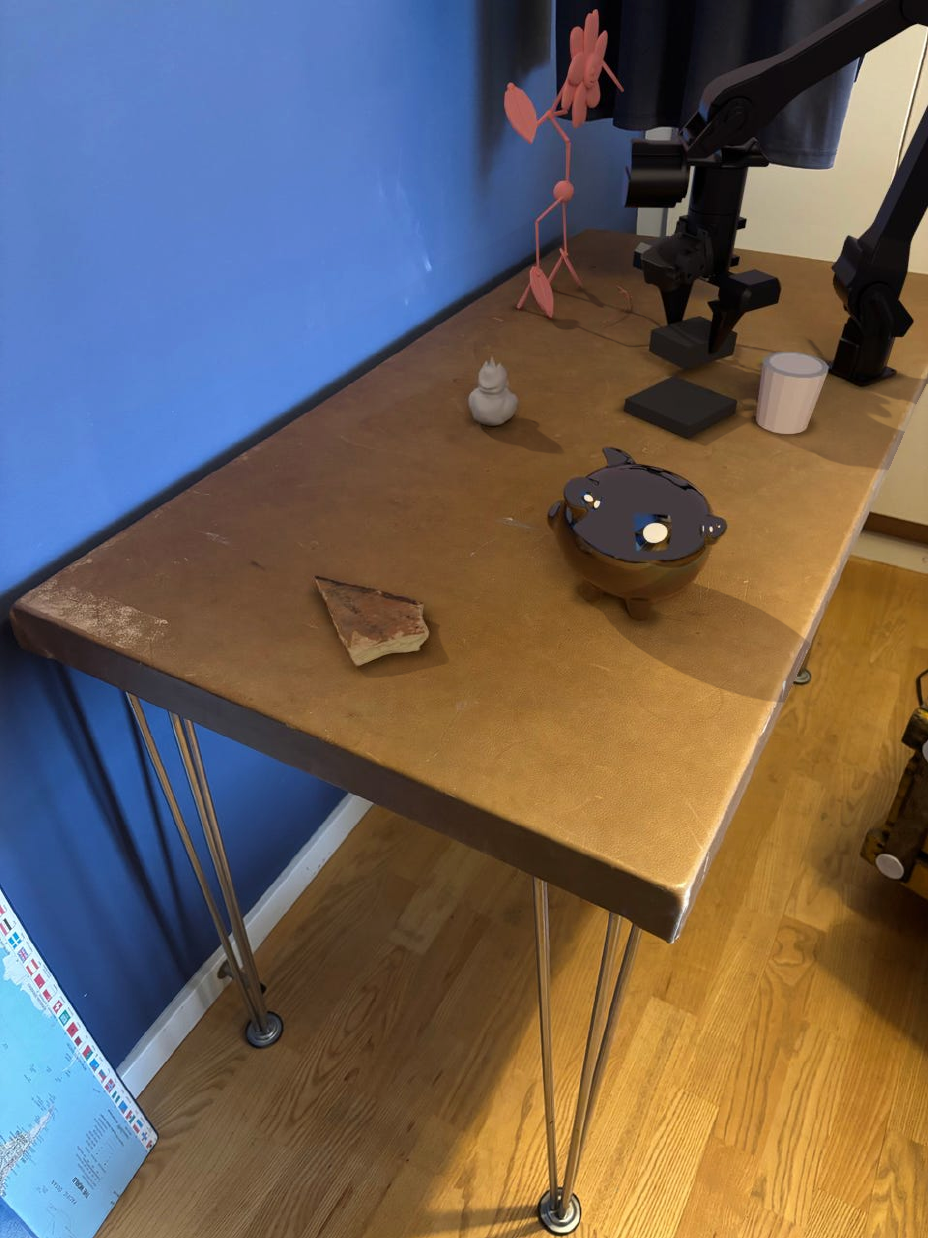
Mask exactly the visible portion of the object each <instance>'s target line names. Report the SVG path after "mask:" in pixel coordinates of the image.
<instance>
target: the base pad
mask: <svg viewBox="0 0 928 1238" xmlns="http://www.w3.org/2000/svg"><path fill="white" fill-rule="evenodd" d="M738 402H739V401H738V400H737V399H735V398H732V397H729V396H727V395H724V394H723V393H720V392H717V391H716V390H715V391H714V390H712V389H709V388H707V387H704V386H702V385H699V384H697V383H695V382H691V381H689V380H687V379H683V378H682V377H680V376H676V375H672V376H670V377H668V378H666V379H664V380H661V381H660V382H657V383H655V384H652V385H650V386H649V387H646V388H645V389H642V390H640V391H638V392H636V393H634V394H632V395H630V396H628V397H626V398H625V399H624V406H623V407H624V408H623V412H625V413H627V414H629V415H632V416H634V417H637V418H639V419H640V420H643V421H645V422H648V423H651V424H653V425H655V426H656V427H659V428H661V429H663V430H666V431H669V432H670V433H673V434H675V435H677V436H680V437H682V438H685V439H687V440H688V439H690V438H692V437H694V436H696V435H697V434H699V433H702V432H703V431H705V430H707V429H708V428H711V427H712V426H714V425H716V424H718V423H720V422H721V421H724V420H725V419H727V418H729V417H731V416H732V415H735V414H736V412H737V411H736V410H737V407H738Z"/></svg>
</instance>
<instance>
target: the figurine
mask: <svg viewBox="0 0 928 1238" xmlns="http://www.w3.org/2000/svg"><path fill="white" fill-rule="evenodd" d="M599 18H600V17H599V11H598V9H594V10H593V11H592V13H588V14H587V16H586V18H585V22H584V30H583V28H581V27H580V26H576V27H573V28H572V30H571V32H570V37H569V48H570V59H571V61H570V65H569V67H568V71H567V77H566V79H565V82H564V83H563V85H562V87H561V89H560V91H559V93H558V95H557V96H556V98H555V100H554V102H553V104H552V106H551V108H550V109H549V110H546V112H545V114H544V115H542V117H541V118H539V119H537V111H536V109H535V107H534V105H533V102H532V101H531V99H530V97H528V95H527V94H526V92H525V91H524V90H523V89H521V88H519V87H518V86H515V84H514V83H513V82H509V83H508V84H507V86H506V87H507V90H506V91H505V92H504V101H503V102H504V103H503V105H504V106H503V107H504V111H505V114H506V118H507V119H508V121H509V123H510V125H511V127H512V128H513V130H514V131H515V132H516V133H517V134H518V135H519V136H520V137H521V138H522V139H523V140H524V141H526V142H527V143H528V144H529V145H532V144H533V142H534V139H535V137H536V132H537V129H538V128H539V127H540V126H541V124H543V123H544V122H545V121H546V120H548V121H551V123H552V124H553V126H554V128H555V129H556V130H557V132H558V133H559V135H560V136H561V138H562V140H563V141H564V142H565V180H560V181H558V182H557V183H556V185H554V188H553V197H554V199H555V200H556V201H555V202H554V203H552V205H551V206H550V207H548V209H546V210H545V211H544V212H543V213H542V214H541V215H540V216H539V217H538V218H537V219H536V220H535V222H534V223H535V224H534V225H535V252H536V253H535V255H536V258H535V259H536V265H535V266H532V267H531V269H530V270H529V281H530V282H529V283H528V286H527V287H526V289H525V291H524V293H523V294H522V295H521V298H520V300H519V301H518V303H517V306H516V308H517V309H521V308H522V306H523V304H524V303H525V301H526V299H527V297H528V295H529V293H530V291H532V294H533V296H534V298H535V300H536V302H537V304H538V305H539V307H540V308H541V309H542V310H543V312H545V314H546V315H547V316H548V317H549V318H550V319H551V318H552V317H553V314H554V303H555V302H554V301H555V300H554V295H553V289H552V286H551V283H552V281H553V279H554V277H555V275H556V273H557V272H558V270H559V268H560V266H561V265H562V263H563V262H565V264H566V266H567V267H568V269H569V272H570V273H571V275H572V277H573V279H574V280H575V282H576V283H577V285H578V286H579V288H580V289H583V285H582V283H581V281H580V279H579V277H578V275H577V273H576V271H575V269H574V267H573V265H572V263H571V261H570V259H569V258H568V256H569V253H568V251H567V248H568V247H567V221H566V220H567V219H566V218H567V217H566V203H568V202H570V201H571V200H572V198H573V196H574V193H575V189H574V186H573V184H572V183H571V182H570V181H569V180H570V166H571V165H570V164H571V149H572V148H571V147H572V143H571V140H570V138H569V137H568V135H567V134H566V133H565V131H564V130H563V129H562V127H561V126H560V124H559V123H558V122H557V121H556V119H555V118H556V117H561V116H564V115H567V114H568V113H569V110H570V108H571V115H572V116H571V117H572V126H573V129H574V130H576V129H578V128H579V126H583V125H584V123H585V121H586V117H587V109H589V108H590V109H593V108H596V107H597V106H598V104H599V103H600V100H601V89H600V84H599V81H598V80H599V78H600V75H601V72H602V70H603V69H604V71H606V73H607V75H609V77H610V79H611V80H612V81H613V82H614V84H615V85H616V86H617V88H618V89H619V90H620V92H622V93H623V92H624V91H625V90H624V88H623V86H622V85H621V84H620V82H619V80H618V79H617V78H616V76H615V74H614V73H613V72H612V70H611V69H610V67H609V65H607V63H606V61H605V60H604V58H605V55H606V50H607V45H608V38H609V37H608V32H607V30H603V32H602V33H600V35H599V27H600V21H599V20H600V19H599ZM602 68H603V69H602ZM560 101H561V110H557V111H555V110H556V108H557V106H558V104H559V103H560ZM571 106H572V107H571ZM554 117H555V118H554ZM559 203H562V223H563V224H562V227H563V248H562V247H560V248H559V252H560V254H561V255H560V257H559V259H558V261H557V262H556V264H555V266H554V268H553V270H552V271H551V274H550V275H549V277H548V278H547V276H546V274H545V272H544V271H543V270H542V269H541V268H540V246H539V245H540V243H539V237H540V236H539V234H540V233H539V222H540V221H541V220H542V219H544V217H546V216H547V215H548V213H550V212H551V211H552V210H553V209H554V208H555V207H556V206H557V205H558V204H559ZM563 249H564V250H563ZM616 287H617V288H619V289H620V290H622V291H623V293H624V294H626V296H627V298H628V299H630V297H629V295H628V293H627V292H626V290H625V289H623V288H622V287H620V286H619V285H618V284H617V285H616ZM630 296H631V298H633V296H632V295H630ZM628 308H629V306H627V307H626V308H625V309H624V310H623V311H622V312H621V313H619V314H618V315H616V316H614V317H612V318H610V319H606V320H604V321H601V324H604V323H606V322H609V321H612V320H614V319H616V318H618V317H620V316H621V315H622V314H624V313H625V312H626V311H627V309H628ZM630 310H631V308H629V309H628V311H627V313H628V312H629V311H630ZM493 319H494V320H496V321H500V322H501V323H503V322H504V319H503V320H502V319H500V318H496V317H493Z"/></svg>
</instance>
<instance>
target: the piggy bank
mask: <svg viewBox="0 0 928 1238" xmlns="http://www.w3.org/2000/svg"><path fill="white" fill-rule="evenodd" d="M601 451H602V453H603V455H604V456H605V458H606V465H605V466H604V467H601V468H599V469H596V470H594V471H592V472H590V473H589V474H587V475H586V476H577V477H574V478H571V479H569V480H568V481H567V482H566V483H565V485H564V487H563V498H564V499H562V500H557V501H556V502H554V503H553V504H552V505H551V506H550V508H549V510H548V511H547V515H546V523H547V526H548V527H549V529H550V530H551V531H552V533H553V535H554V537H555V541H556V545H557V547H558V549H559V552H560V554H561V556H562V557H563V559H564V561H565V563H566V564H567V565H568V566H569V568H570V569H571V570H572V571H573V572H574V573H575V574H576V575H577V576H579V577H580V579H581V583H580V592H579V593H580V595H581V596H582V598H583V599H585V600H588V601H597V600H599V599H600V598H601V597H602V596H603V595H604V594H605V593H608V594H610V595H612V596H615V597H618V598H622V599H624V601H625V604H626V608H627V612H628V615H629V616H631V618H632V619H634V620H638V621H643V620H646V619H648V618H649V617H650V616H651V614H652V611H653V607H654V605H655V603H656V602H658V601H661V600H665V599H668V598H670V597H673V596H676V595H677V594H679V593H680V592H682V591H684V590H685V589H686V588H688V587H689V586H690V585H691V584H692V583H693V582H694V581H696V579H697V578H698V576H699V575H700V573H701V572H702V571H703V569H704V568H705V566H706V564H707V562H708V560H709V558H710V556H711V554H712V550H713V547H714V546H716V545H717V544H718V543H719V541H720V540H721V539H722V537H724V536H725V535H726V532H727V530H728V522H727V520H726V519H725V518H724V517H722V516H719V515H715V514H714V511H713V508H712V506H711V504H710V502H709V500H708V498H707V497H706V495H705V493H703V491H702V490H701V489H700V488H699V487H697V486H696V484H694V483H693V482H691V480H688V479H687V478H685V477H684V476H682V475H680V474H678V473H676V472H673V471H670V470H668V469H666V468H661V467H659V466H654V465H650V464H649V465H648V464H643V463H637V462H636V461H635V460H634V458H633V457H632V456H631V455H630V453H628V452H627V451H625V450H622V449H620V448H617V447H614V446H604V447H603V448H602V449H601Z"/></svg>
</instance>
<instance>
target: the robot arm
mask: <svg viewBox="0 0 928 1238" xmlns="http://www.w3.org/2000/svg"><path fill="white" fill-rule="evenodd" d="M915 25H916V26H917V25H920V26H923V27H927V28H928V0H864V1H862V2H860V3H859V4H857V5H856V6H855V7H853V8H851V9H850V10H848V11H846V12H844V13H843V14H842V15H840V16H839V17H836V18H835V19H834V20H831V21H830V22H828V23H827V24H826V25H824V26H822V27H820V28H819V29H817V30H815V31H814V32H813V33H811V34H810V35H808V36H807V37H805V38H803V39H801V40H799V42H797V43H795V44H793V45H792V46H790V47H789V48H787V49H786V50H784V51H782V52H781V53H779V54H776V55H773V56H771V57H769V58H765V59H761V60H758V61H755V62H751V63H748V64H746V65H743V66H741V67H739V68H736V69H734V70H731V71H729V72H727V73H724V74H722V75H719V76H717V77H715V78H714V79H713V80H712V81H710V82H709V83H708V84H707V86H706V87H704V89H703V92H702V95H701V98H700V101H699V107H698V109H697V110H696V111H695V113H694V114H693V115H692V117H690V119H689V120H688V121H687V122H686V124H685V125H684V126H683V127H682V129H681V130H679V132H678V134H676V137H675V140H674V139H672V140H671V139H665V140H664V139H660V140H659V139H655V140H654V139H648V138H644V137H632V138H631V139H630V142H629V150H628V154H627V157H626V162H625V165H624V166H623V170H622V171H623V172H622V182H621V183H622V184H621V189H622V190H621V204H622V208H624V209H632V208H633V209H638V208H639V209H641V208H642V209H675V208H676V206H677V204H682V202H683V199H686V197H687V195H688V192H689V188H690V193H689V200H688V207H687V214H683V215H680V216H678V220H677V221H676V224H675V229H674V232H673V233H672V234H671V235H665V236H660V237H657V238H652V239H647V240H643V241H640V242H639V244H638V245H637V246H636V248H635V249H634V250H633V260H632V267H633V268H635V269H638V270H641V271H642V274H643V280H644V282H645V284H647V285H653V286H655V287H657V288H658V289H659V293H660V296H661V299H662V303H663V309H664V314H665V315H664V316H665V320H666V325H669V324H672V323H676V322H680V321H683V320H684V317H685V313H686V310H687V307H688V303H689V299H690V296H691V294H692V289H693V287H694V283H695V281H696V280H700V281H701V282H702V281H703V282H705V283H707V284H709V285H712V286H714V287H716V288H718V293H717V297H718V298H715V299H713V300H709V301H706V303H707V306H708V308H709V309H710V310H711V312H712V317H711V321H712V323H711V330H710V336H709V347H708V353H710V354H713V353H716V352H717V351H718V349H719V348H720V347H721V345H722V344H723V342H724V341H725V339H726V338H727V337H728V335H729V334H730V332H731V331H733V329H734V328H735V327H736V325H737V324H738V322H739V321H740V319H742V318H743V316H744V315H745V314H746V313H749V312H753V311H757V310H761V309H763V308H767V307H770V306H773V305H777V304H779V301H780V297H781V292H782V283H781V281H780V279H779V278H778V277H777V276H774V275H772V274H770V273H767V272H764V271H761V270H759V269H756V268H753V269H749V270H746V271H742V272H738V273H734V272H733V271H730V269H731V268H733V267H737V266H739V264H740V259H741V256H740V255H737V254H735V253H734V250H735V244H736V238H737V234H738V231H739V230H744V229H746V228H747V227H746V226H747V222H748V218H745V217H743V216H741V213H742V212H741V211H742V205H743V200H744V195H745V190H746V185H747V178H748V173H749V168H767V167H769V166H770V163H771V162H770V159H768V157H767V156H766V155H765V153H764V152H763V151H762V149H761V146H760V142H759V141H758V139H756V137H755V136H756V135H757V134H759V133H760V132H761V131H762V130H764V129H765V128H766V127H767V126H768V125H770V124H771V123H772V122H774V121H775V120H776V118H777V117H778V116H779V115H780V114H781V113H782V112H783V110H785V109H786V107H787V106H788V105H789V104H790V103H791V102H792V101H793V100H795V99H796V98H797V97H798V96H799V95H801V94H802V93H803V92H805V91H806V90H808V89H810V88H812V87H813V86H815V85H817V84H818V83H820V82H822V81H823V80H824V79H826V78H829V77H831V76H832V75H833V74H835V73H837V72H838V71H840V70H841V69H843V68H845V67H847V66H848V65H850V64H851V63H853V62H855V61H856V60H858V59H859V58H862V57H864V56H865V55H867V54H868V53H870V52H871V51H872V50H873V51H874V50H875V49H876V48H878V47H879V46H881V45H883V44H884V43H886V42H888V41H890V40H891V39H893V38H895V37H896V36H898V35H900V34H901V33H902V32H905V31H906V30H908V29H909V28H911V27H913V26H915ZM914 131H915V132H914V133H913V136H912V138H911V140H910V142H909V144H908V146H907V149H906V150H905V152H904V155H903V157H902V159H901V162H900V164H899V165H898V168H897V169H896V172H895V175H894V177H893V179H892V181H891V183H890V185H889V187H888V189H887V192H886V194H885V196H884V198H883V200H882V203H881V205H880V207H879V208H878V211H877V213H876V215H875V218H874V219H873V222H872V223H871V225H870V226H869V227H868V228H867V229H866V230H865V231H864V232H863V233H862V234H861V235H860V236H859V237H858V238H856V237H854V236H852V235H850V234H848V235H846V237H845V239H844V241H843V245H842V248H841V252H840V255H839V256H838V257H837V260H836V261H835V262H834V263H833V264H832V266H831V268H830V269H831V270H832V271H833V273H834V274H833V278H832V286H833V289H834V292H835V294H836V295H837V296H838V298H839V299H840V301H841V302H842V308H843V310H844V312H846V313H847V314H848V316H849V317H848V318H847V319H846V322H845V323H844V324H843V329H842V332H841V336H840V338H839V340H838V343H837V347H836V350H835V354H834V358H833V360H829V361H827V362H826V361H825V362H826V364H827V365H828V366H829V369H828V373H831V374H834V375H836V376H838V377H840V378H843V379H845V380H846V381H849V382H851V383H853V384H855V385H857V386H861V387H866V386H869V385H872V384H875V383H878V382H880V381H883V380H886V379H889V378H892V377H894V376H896V375H897V373H898V370H897V369H895V368H892V367H890V366H888V363H889V360H890V356H891V353H892V351H893V347H894V343H895V341H896V338H903V337H905V336H906V334H907V333H908V331H909V330H910V328H911V327H912V326H913V324H914V323H915V319H914V318H913V317H912V315H911V314H910V313H909V312H908V310H907V309H906V308H905V306H904V304H903V303H902V302H901V300H900V297H901V294H902V291H903V287H904V285H905V282H906V279H907V275H908V272H909V266H910V265H909V264H910V256H911V247H912V242H913V238H914V236H915V235H916V232H917V230H918V228H919V226H920V224H921V222H922V220H923V218H924V216H925V215H926V212H927V210H928V104H927V105H926V107H925V110H924V112H923V114H922V116H921V118H920V120H919V123H918V125H917V127H916V129H915V130H914ZM692 167H693V173H692V179H691V180H692V181H691V185H690V176H691V168H692ZM689 185H690V187H689Z"/></svg>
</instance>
